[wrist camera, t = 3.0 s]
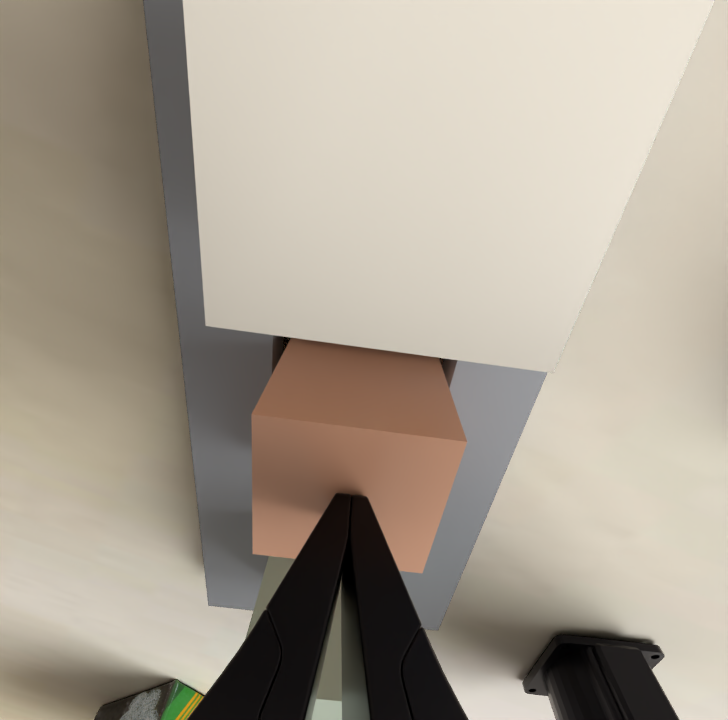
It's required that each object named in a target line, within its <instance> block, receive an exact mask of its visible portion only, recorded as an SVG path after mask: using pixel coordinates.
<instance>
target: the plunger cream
mask: <svg viewBox="0 0 728 720" xmlns="http://www.w3.org/2000/svg"><path fill="white" fill-rule="evenodd" d="M714 2H715V0H183V12H184V26H185V40H186V54H187V69H188V83H189V97H190V111H191V126H192V140H193V154H194V168H195V182H196V197H197V211H198V225H199V239H200V253H201V268H202V282H203V296H204V310H205V325H206V326H210V327H217V328H225V329H232V330H239V331H247V332H254V333H261V334H269V335H276V336H283V337H291V338H298V339H305V340H313V341H320V342H327V343H335V344H342V345H349V346H357V347H364V348H372V349H379V350H386V351H394V352H401V353H408V354H416V355H423V356H430V357H438V358H445V359H452V360H460V361H467V362H474V363H482V364H489V365H497V366H504V367H511V368H519V369H526V370H533V371H541V372H548V373H554V371H555V369H556V366H557V364H558V362H559V360H560V357H561V355H562V353H563V350H564V348H565V346H566V343H567V341H568V339H569V336H570V334H571V332H572V330H573V327H574V325H575V323H576V320H577V318H578V316H579V313H580V311H581V309H582V306H583V304H584V302H585V300H586V297H587V295H588V293H589V290H590V288H591V286H592V283H593V281H594V279H595V276H596V274H597V272H598V270H599V267H600V265H601V263H602V260H603V258H604V256H605V253H606V251H607V249H608V246H609V244H610V242H611V240H612V237H613V235H614V233H615V230H616V228H617V226H618V223H619V221H620V219H621V216H622V214H623V212H624V210H625V207H626V205H627V203H628V200H629V198H630V196H631V193H632V191H633V189H634V187H635V184H636V182H637V180H638V177H639V175H640V173H641V170H642V168H643V166H644V163H645V161H646V159H647V157H648V154H649V152H650V150H651V147H652V145H653V143H654V140H655V138H656V136H657V133H658V131H659V129H660V127H661V124H662V122H663V120H664V117H665V115H666V113H667V110H668V108H669V106H670V103H671V101H672V99H673V97H674V94H675V92H676V90H677V87H678V85H679V83H680V80H681V78H682V76H683V73H684V71H685V69H686V67H687V64H688V62H689V60H690V57H691V55H692V53H693V50H694V48H695V46H696V43H697V41H698V39H699V37H700V34H701V32H702V30H703V27H704V25H705V23H706V20H707V18H708V16H709V13H710V11H711V9H712V7H713V4H714Z"/></svg>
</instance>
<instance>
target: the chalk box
mask: <svg viewBox="0 0 728 720" xmlns="http://www.w3.org/2000/svg"><path fill="white" fill-rule="evenodd" d="M203 697H204V696H202V695H200V694H199V693H197V692H195V691H194V690H192V689H190V688H189V687H187V686H185V685H184V684H182V683H180V682H179V681H178V680H177V679H176V680H174V681H173V682H170V683H168V684H165V685H162V686H160V687H157V688H154V689H151V690H148V691H146V692H143V693H140V694H137V695H134V696H130V697H128V698H125V699H122V700H119V701H116V702H113V703H110V704H107V705H103V706H102V707H100V709H99V710H98V712H97V715H96V717H95V719H94V720H186V719H187V718H188V717H189V716H190V714H191V713H192V712H193V710H194V709H195V708H196V706H197V705H198V704H199V703H200V701H201V700H202V699H203Z"/></svg>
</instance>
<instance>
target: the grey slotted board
mask: <svg viewBox="0 0 728 720" xmlns="http://www.w3.org/2000/svg"><path fill="white" fill-rule="evenodd" d="M143 3H144V12H145V21H146V31H147V40H148V49H149V58H150V68H151V77H152V86H153V96H154V105H155V114H156V123H157V133H158V142H159V151H160V161H161V170H162V179H163V188H164V198H165V207H166V216H167V226H168V235H169V244H170V253H171V263H172V272H173V281H174V291H175V300H176V309H177V318H178V328H179V337H180V346H181V356H182V365H183V374H184V383H185V393H186V402H187V411H188V421H189V430H190V439H191V448H192V458H193V467H194V476H195V486H196V495H197V504H198V513H199V523H200V532H201V541H202V551H203V560H204V569H205V579H206V588H207V597H208V606H217V607H227V608H236V609H245V610H254V607H255V604H256V600H257V597H258V593H259V589H260V586H261V582H262V579H263V575H264V572H265V568H266V565H267V561H268V557H269V556H266V555H257V554H253V535H252V420H251V414H252V412H253V410H254V408H255V406H256V405H257V403H258V401H259V399H260V397H261V395H262V393H263V391H264V389H265V387H266V385H267V383H268V381H269V379H270V377H271V376H272V374H273V372H274V370H275V368H276V366H277V364H278V362H279V360H280V358H281V356H282V354H283V336H276V335H269V334H261V333H254V332H247V331H239V330H232V329H225V328H217V327H210V326H206V325H205V310H204V296H203V282H202V268H201V253H200V239H199V225H198V211H197V197H196V182H195V168H194V154H193V140H192V126H191V111H190V97H189V83H188V69H187V54H186V40H185V26H184V12H183V0H143ZM442 369H443V372H444V375H445V377H446V380H447V383H448V386H449V389H450V392H451V395H452V398H453V401H454V404H455V407H456V410H457V413H458V416H459V419H460V422H461V425H462V428H463V431H464V434H465V437H466V440H467V444H466V447H465V450H464V453H463V456H462V459H461V462H460V465H459V468H458V471H457V474H456V477H455V479H454V482H453V485H452V488H451V491H450V494H449V497H448V500H447V503H446V506H445V509H444V512H443V515H442V518H441V520H440V523H439V526H438V529H437V532H436V535H435V538H434V541H433V544H432V547H431V550H430V553H429V556H428V559H427V561H426V564H425V567H424V570H423V573H414V572H405V571H400V574H401V576H402V578H403V581H404V583H405V585H406V588H407V590H408V593H409V595H410V597H411V600H412V602H413V604H414V607H415V609H416V611H417V614H418V616H419V618H420V621H421V623H422V626H421V627H423V628H424V629H428V630H438V629H439V627H440V625H441V622H442V620H443V618H444V615H445V613H446V611H447V608H448V606H449V603H450V601H451V599H452V596H453V594H454V592H455V589H456V587H457V585H458V582H459V580H460V578H461V575H462V573H463V570H464V568H465V566H466V563H467V561H468V559H469V556H470V554H471V552H472V549H473V547H474V545H475V542H476V540H477V537H478V535H479V533H480V530H481V528H482V526H483V523H484V521H485V519H486V516H487V514H488V511H489V509H490V507H491V504H492V502H493V500H494V497H495V495H496V493H497V490H498V488H499V486H500V483H501V481H502V478H503V476H504V474H505V471H506V469H507V467H508V464H509V462H510V460H511V457H512V455H513V453H514V450H515V448H516V445H517V443H518V441H519V438H520V436H521V434H522V431H523V429H524V427H525V424H526V422H527V420H528V417H529V415H530V412H531V410H532V408H533V405H534V403H535V401H536V398H537V396H538V394H539V391H540V389H541V386H542V384H543V382H544V379H545V377H546V375H547V372H541V371H533V370H526V369H519V368H511V367H504V366H497V365H489V364H482V363H474V362H467V361H460V360H452V359H445V358H444V360H443V364H442Z"/></svg>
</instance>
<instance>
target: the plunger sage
mask: <svg viewBox="0 0 728 720" xmlns="http://www.w3.org/2000/svg"><path fill="white" fill-rule="evenodd" d="M294 560H295V559H292V558H283V557H274V556H269V557H268V561H267V565H266V568H265V572H264V575H263V579H262V582H261V586H260V589H259V593H258V597H257V600H256V604H255V607H254V611H253V614H252V618H251V622H250V625H249V629H248V632H247V636H248V635H249V633H250V632H251V630H252V629H253V627H254V625H255V624H256V622H257V621H258V619H259V617H260V616H261V614H262V612H263V611H264V610H266V606H267V605H268V603H269V601H270V600H271V598H272V596H273V595H274V593H275V591H276V590H277V588H278V587H279V585H280V583H281V582H282V580H283V578H284V577H285V575H286V573H287V572H288V570H289V569H290V567H291V565H292V564H293V562H294ZM341 580H342V578H341ZM247 636H246V638H247ZM312 720H342V663H341V584H340V590H339V595H338V600H337V604H336V609H335V613H334V618H333V623H332V627H331V632H330V637H329V641H328V646H327V650H326V655H325V660H324V664H323V669H322V673H321V678H320V683H319V687H318V692H317V697H316V701H315V706H314V710H313V715H312Z"/></svg>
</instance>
